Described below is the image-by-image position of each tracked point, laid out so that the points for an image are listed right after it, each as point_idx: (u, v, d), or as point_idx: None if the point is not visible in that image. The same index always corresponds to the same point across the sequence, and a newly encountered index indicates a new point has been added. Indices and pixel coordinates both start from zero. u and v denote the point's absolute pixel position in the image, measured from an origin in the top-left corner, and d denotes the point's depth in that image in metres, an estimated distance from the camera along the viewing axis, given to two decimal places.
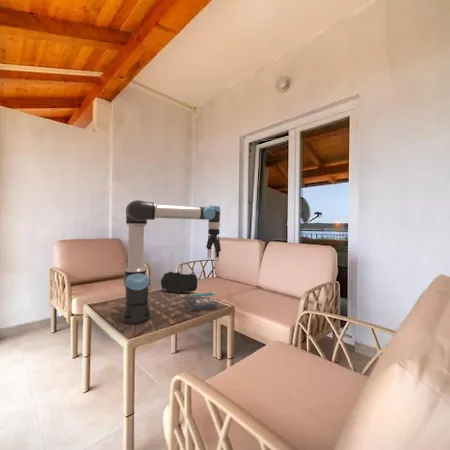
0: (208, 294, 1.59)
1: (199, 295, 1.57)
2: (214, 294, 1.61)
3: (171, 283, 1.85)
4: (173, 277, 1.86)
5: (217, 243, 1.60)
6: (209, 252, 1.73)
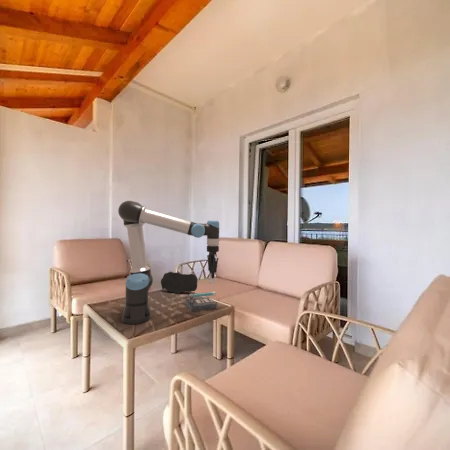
0: (208, 294, 1.59)
1: (199, 295, 1.57)
2: (214, 294, 1.61)
3: (171, 283, 1.85)
4: (173, 277, 1.86)
5: (214, 265, 1.50)
6: None
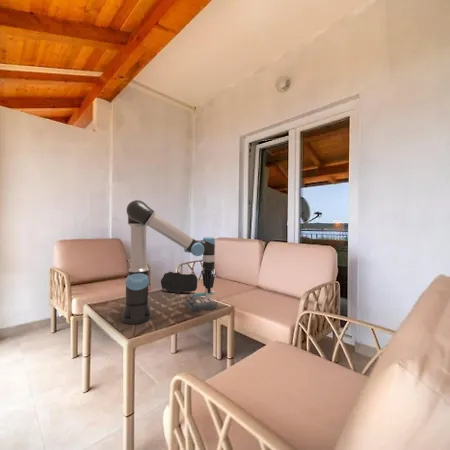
0: None
1: (199, 295, 1.57)
2: (213, 293, 1.62)
3: (171, 283, 1.85)
4: (173, 277, 1.86)
5: (211, 280, 1.55)
6: None
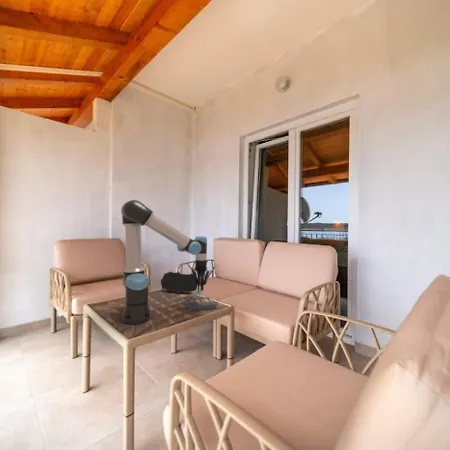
0: None
1: (196, 293, 1.60)
2: (202, 290, 1.69)
3: (171, 283, 1.85)
4: (173, 277, 1.86)
5: (206, 277, 1.63)
6: None
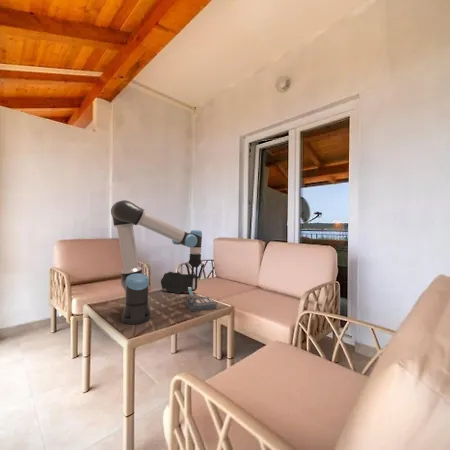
0: (191, 290, 1.66)
1: (192, 293, 1.60)
2: None
3: (171, 283, 1.85)
4: (173, 277, 1.86)
5: (201, 271, 1.65)
6: None
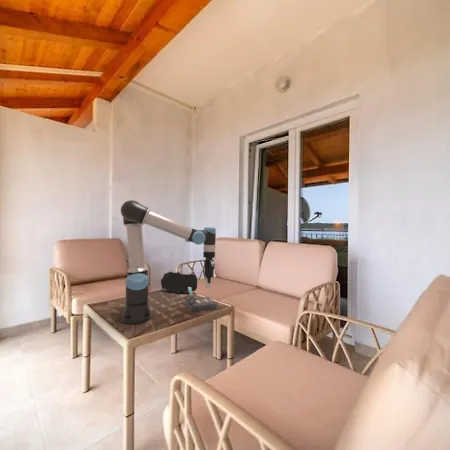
0: (191, 290, 1.66)
1: (192, 293, 1.60)
2: None
3: (171, 283, 1.85)
4: (173, 277, 1.86)
5: (210, 270, 1.55)
6: None
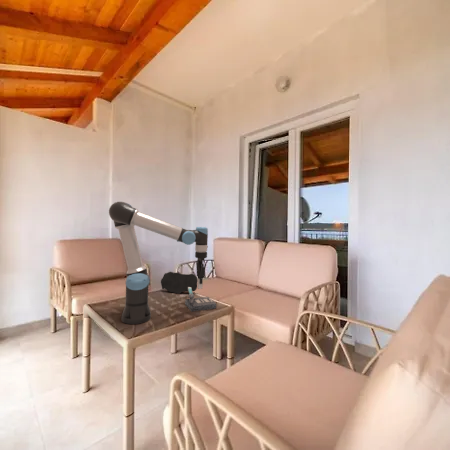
0: (191, 290, 1.66)
1: (192, 293, 1.60)
2: None
3: (171, 283, 1.85)
4: (173, 277, 1.86)
5: (202, 271, 1.53)
6: None
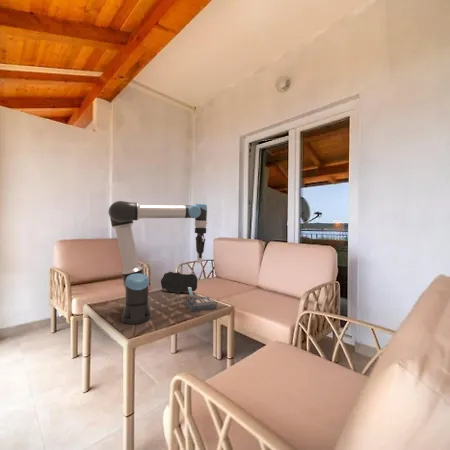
0: (191, 290, 1.66)
1: (192, 293, 1.60)
2: None
3: (171, 283, 1.85)
4: (173, 277, 1.86)
5: (201, 245, 1.60)
6: None
